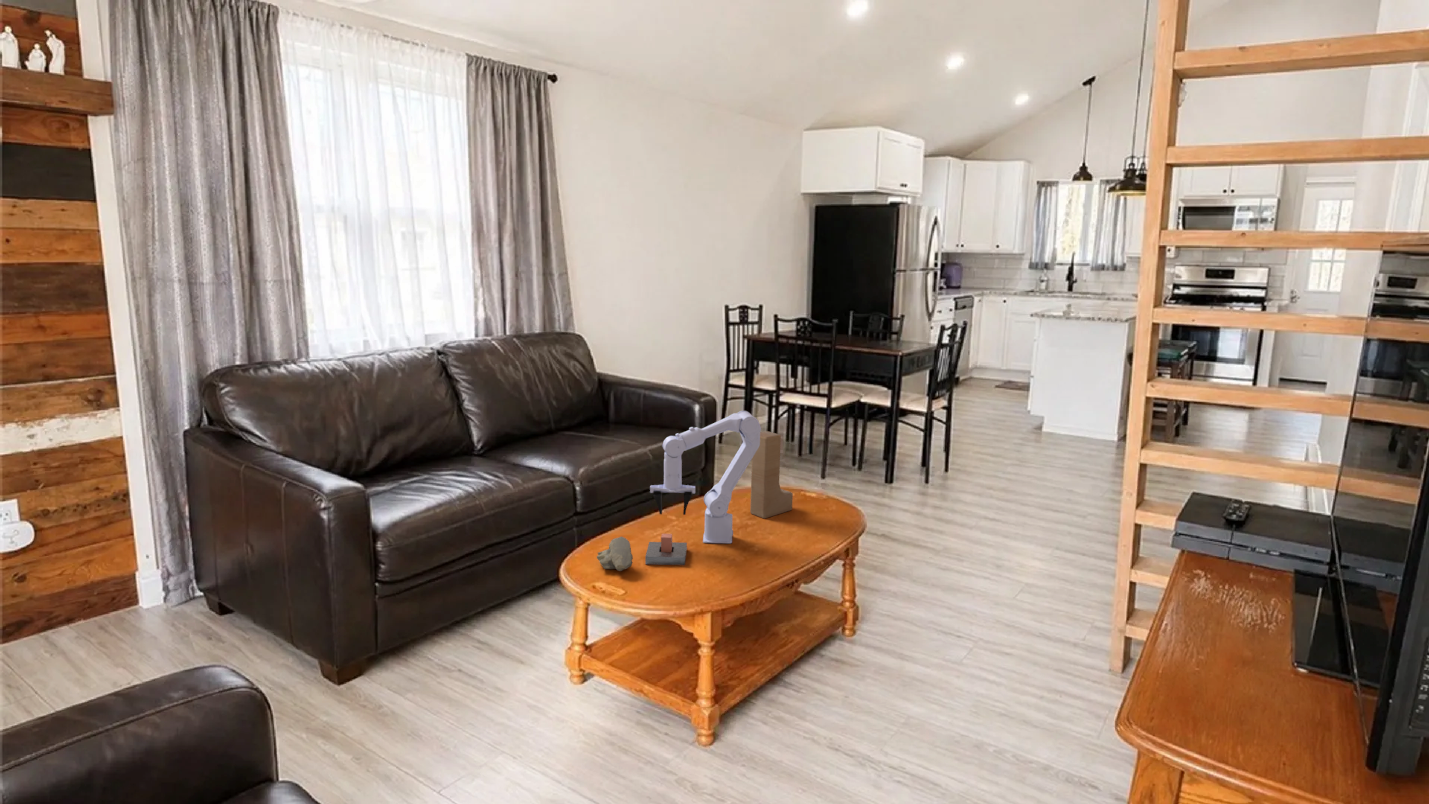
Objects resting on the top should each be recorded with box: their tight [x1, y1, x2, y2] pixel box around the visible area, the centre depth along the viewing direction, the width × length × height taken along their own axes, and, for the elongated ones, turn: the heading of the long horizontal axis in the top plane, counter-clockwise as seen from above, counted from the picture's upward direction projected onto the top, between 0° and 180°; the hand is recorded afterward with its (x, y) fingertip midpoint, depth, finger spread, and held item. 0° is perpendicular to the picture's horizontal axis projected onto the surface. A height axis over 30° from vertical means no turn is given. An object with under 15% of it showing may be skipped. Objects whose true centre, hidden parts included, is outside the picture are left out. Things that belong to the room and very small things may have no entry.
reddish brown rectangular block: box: [660, 533, 673, 552], centre depth 254 cm, size 3×3×7 cm
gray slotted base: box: [644, 541, 688, 566], centre depth 254 cm, size 12×12×2 cm
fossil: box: [596, 536, 634, 572], centre depth 245 cm, size 14×10×10 cm
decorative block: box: [750, 430, 794, 519], centre depth 294 cm, size 8×15×30 cm, turn 132°
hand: (672, 513), depth 265 cm, fingers open, 7 cm apart
